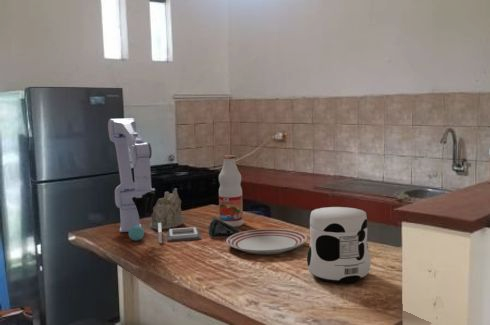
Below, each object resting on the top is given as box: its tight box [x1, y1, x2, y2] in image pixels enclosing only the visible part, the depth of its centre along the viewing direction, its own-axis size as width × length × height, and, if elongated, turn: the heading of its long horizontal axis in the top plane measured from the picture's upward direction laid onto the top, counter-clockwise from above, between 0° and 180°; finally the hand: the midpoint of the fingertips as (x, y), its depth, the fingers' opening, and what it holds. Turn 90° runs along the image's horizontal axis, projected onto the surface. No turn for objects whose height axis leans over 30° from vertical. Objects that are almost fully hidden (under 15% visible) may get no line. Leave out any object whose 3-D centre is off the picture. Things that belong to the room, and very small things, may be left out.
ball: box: [128, 225, 145, 242], centre depth 178 cm, size 6×6×6 cm
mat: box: [166, 226, 202, 243], centre depth 183 cm, size 12×12×2 cm
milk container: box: [306, 206, 371, 283], centre depth 136 cm, size 17×17×18 cm
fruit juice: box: [218, 154, 244, 228], centre depth 196 cm, size 9×9×28 cm
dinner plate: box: [225, 228, 308, 255], centre depth 167 cm, size 27×27×3 cm
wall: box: [157, 223, 163, 244], centre depth 181 cm, size 14×1×4 cm, turn 10°
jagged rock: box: [148, 187, 185, 230], centre depth 202 cm, size 16×16×15 cm
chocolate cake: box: [208, 216, 241, 239], centre depth 183 cm, size 10×7×12 cm
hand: (145, 214), depth 175 cm, fingers open, 7 cm apart
